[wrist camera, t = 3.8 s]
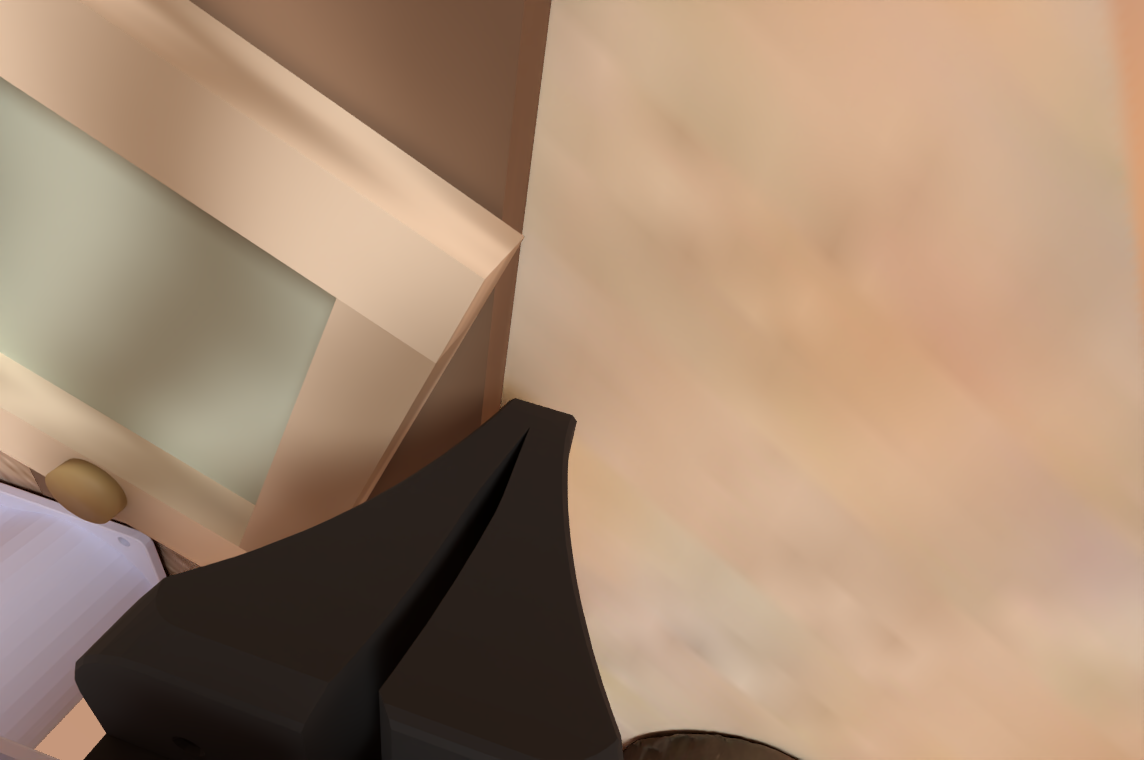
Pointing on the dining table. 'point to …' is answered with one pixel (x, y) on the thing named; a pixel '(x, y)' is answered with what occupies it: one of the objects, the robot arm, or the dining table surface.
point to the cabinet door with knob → (212, 278)
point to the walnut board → (426, 142)
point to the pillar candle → (699, 749)
